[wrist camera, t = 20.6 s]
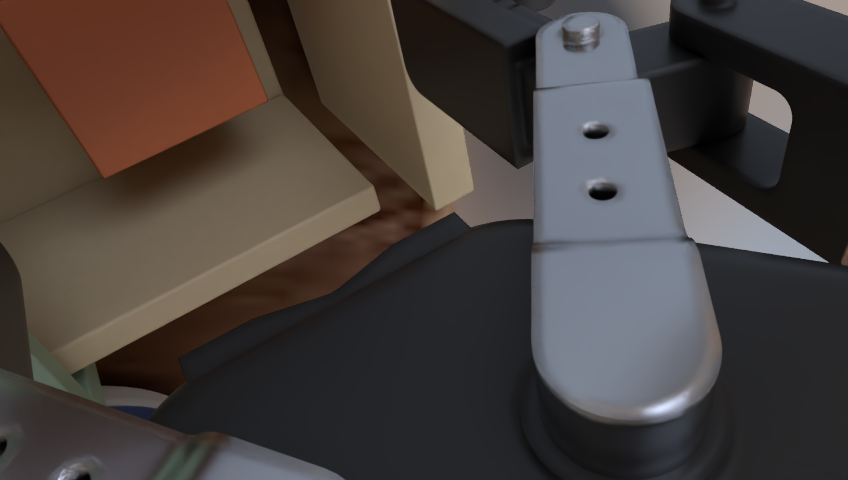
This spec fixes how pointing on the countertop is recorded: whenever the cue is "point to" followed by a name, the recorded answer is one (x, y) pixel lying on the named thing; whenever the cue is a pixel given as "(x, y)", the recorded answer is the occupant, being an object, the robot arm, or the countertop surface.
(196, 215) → the drawer
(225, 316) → the countertop surface
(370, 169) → the countertop surface
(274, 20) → the countertop surface
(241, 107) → the block
